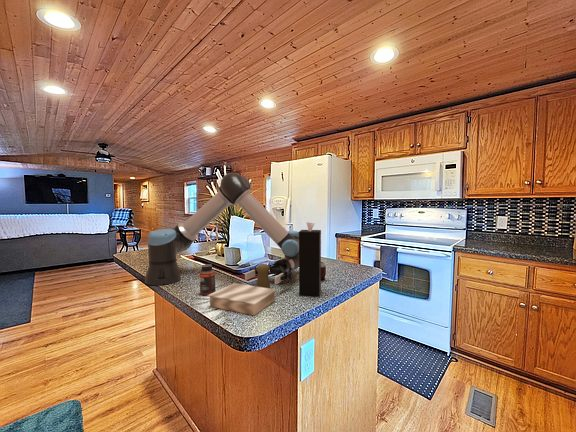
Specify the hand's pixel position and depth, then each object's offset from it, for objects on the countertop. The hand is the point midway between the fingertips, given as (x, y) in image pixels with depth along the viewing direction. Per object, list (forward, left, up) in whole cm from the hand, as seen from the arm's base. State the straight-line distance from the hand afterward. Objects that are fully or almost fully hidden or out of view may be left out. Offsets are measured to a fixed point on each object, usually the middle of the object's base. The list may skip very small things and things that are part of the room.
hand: (260, 278), depth 104 cm
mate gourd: (+15, +26, -6) cm, 31 cm away
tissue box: (+18, +8, -6) cm, 21 cm away
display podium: (0, -12, -6) cm, 13 cm away
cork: (0, +2, -6) cm, 7 cm away
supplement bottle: (-19, -9, -6) cm, 22 cm away
